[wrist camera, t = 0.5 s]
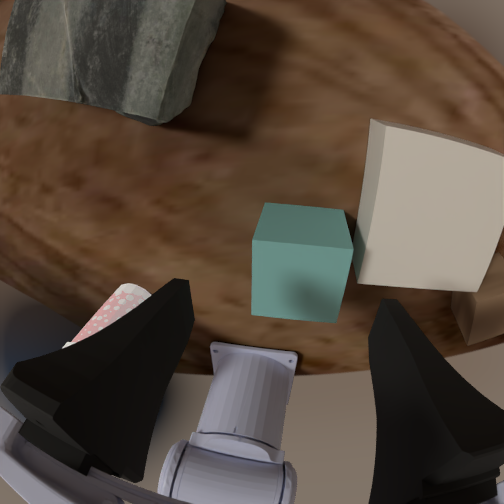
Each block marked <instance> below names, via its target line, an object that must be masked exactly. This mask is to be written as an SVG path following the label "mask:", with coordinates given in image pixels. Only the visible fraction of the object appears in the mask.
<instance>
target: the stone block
mask: <svg viewBox="0 0 504 504" xmlns="http://www.w3.org/2000/svg"><path fill="white" fill-rule="evenodd" d="M226 3H227V2H226V0H15V2H14V5H13V9H12V12H11V16H10V20H9V24H8V28H7V32H6V37H5V43H4V48H3V54H2V62H1V70H0V94H10V95H27V96H35V97H43V98H50V99H57V100H65V101H71V102H76V103H80V104H86V105H91V106H96V107H101V108H106V109H111V110H115V111H116V112H118V113H119V114H121V115H123V116H126V117H128V118H131V119H134V120H137V121H140V122H142V123H144V124H147V125H150V126H157V125H161V124H162V123H163V122H168V121H170V120H171V119H173V117H175V116H177V115H178V114H180V113H181V112H182V111H183V110H184V109H185V108H187V107H189V106H190V104H191V101H192V96H193V92H194V89H195V86H196V80H197V74H198V72H199V67H200V64H201V62H202V60H203V58H204V56H205V55H206V52H207V50H208V48H209V46H210V44H211V43H212V42H213V40H214V39H215V35H216V33H217V30H218V26H219V20H220V19H221V17H222V15H223V13H224V12H225V11H224V7H225V5H226Z"/></svg>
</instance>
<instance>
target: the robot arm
mask: <svg viewBox="0 0 504 504" xmlns="http://www.w3.org/2000/svg"><path fill="white" fill-rule="evenodd" d="M194 321H195V318H194V312H193V305H192V299H191V292H190V285H189V280H184V279H176V278H174V279H172V280H171V281H169V282H168V283H167V284H165V285H164V286H163V287H161V288H160V289H159V290H158V291H156V292H155V293H154V294H152V295H151V296H150V297H148V298H147V299H146V300H144V301H143V302H142V303H140V304H139V305H138V306H137V307H135V308H134V309H132V310H131V311H129V312H128V313H126V314H125V315H124V316H122V317H121V318H119V319H118V320H116V321H115V322H113V323H112V324H110V325H108V326H107V327H105V328H103V329H102V330H100V331H98V332H96V333H95V334H93V335H91V336H89V337H87V338H85V339H83V340H81V341H78V342H76V343H74V344H72V345H70V346H68V347H65V348H63V349H60V350H58V351H55V352H52V353H49V354H46V355H43V356H40V357H36V358H33V359H29V360H25V361H21V362H17V363H16V364H15V366H14V367H13V369H12V370H11V372H10V373H9V374H8V376H7V377H6V379H5V380H4V381H3V383H2V384H1V390H2V392H3V393H4V395H5V396H6V397H7V398H8V400H9V401H10V402H11V403H12V404H13V405H14V406H15V407H16V408H17V409H18V410H19V411H20V412H21V413H22V414H23V415H24V417H25V418H27V419H26V420H25V422H24V424H23V423H22V422H21V421H20V420H19V419H17V418H16V417H15V416H13V415H12V414H11V413H9V412H8V411H7V410H5V409H4V408H3V407H0V476H1V477H2V478H3V479H4V480H5V481H6V482H7V483H8V484H9V485H10V486H11V487H12V488H13V489H14V490H15V491H16V492H17V493H18V494H19V495H20V496H21V497H22V498H23V499H24V500H25V501H27V502H28V503H29V504H124V501H123V500H125V501H128V502H130V503H132V504H294V500H295V496H296V489H297V474H296V471H295V469H294V468H293V467H292V464H291V463H290V462H288V461H284V455H285V451H282V450H280V447H281V440H282V433H283V426H284V418H285V410H286V405H287V404H288V401H289V397H290V392H291V388H292V383H293V378H294V374H295V369H296V364H297V359H298V354H297V353H295V352H291V351H281V350H272V349H264V348H256V347H248V346H241V345H234V344H227V343H221V342H212V343H211V345H210V349H211V356H212V363H213V369H214V378H213V381H212V384H211V387H210V390H209V393H208V396H207V400H206V402H205V406H204V409H203V412H202V415H201V418H200V421H199V425H198V428H197V431H196V432H192V434H191V437H190V440H189V441H187V440H184V439H182V440H180V441H179V442H177V443H175V444H173V446H172V447H171V449H170V450H169V452H168V455H167V457H166V459H165V462H164V465H163V468H162V471H161V475H160V479H159V484H158V493H155V492H152V491H149V490H146V489H144V488H141V487H138V486H136V485H133V484H130V483H128V482H125V481H123V480H120V479H118V478H116V477H119V478H123V479H126V480H128V481H131V482H133V483H137V482H140V481H142V480H143V477H144V470H145V465H146V459H147V454H148V450H149V446H150V441H151V437H152V433H153V429H154V426H155V422H156V419H157V415H158V412H159V409H160V405H161V402H162V399H163V396H164V394H165V391H166V389H167V386H168V384H169V381H170V379H171V377H172V375H173V373H174V371H175V369H176V367H177V365H178V362H179V360H180V358H181V356H182V354H183V352H184V349H185V347H186V345H187V343H188V340H189V337H190V334H191V331H192V327H193V324H194ZM368 344H369V363H370V370H371V376H372V383H373V390H374V398H375V405H376V415H377V438H376V440H377V441H376V457H375V466H374V475H373V482H372V489H371V494H370V499H369V504H504V480H503V481H501V482H499V483H497V484H496V477H498V476H499V475H500V469H499V467H500V466H501V465H503V464H504V410H503V409H501V408H500V407H498V406H497V405H496V404H494V403H493V402H491V401H490V400H489V399H487V398H486V397H484V396H483V395H482V394H481V393H480V392H479V391H477V390H476V389H475V388H474V387H473V386H472V385H471V384H469V383H468V382H467V381H466V380H465V379H464V378H463V377H462V376H461V375H460V374H459V373H458V372H457V371H456V370H455V369H454V368H453V367H452V366H451V365H450V364H449V363H448V362H447V361H446V360H445V359H444V357H443V356H442V355H441V354H440V353H439V352H438V350H437V349H436V348H435V347H434V346H433V345H432V343H431V342H430V341H429V340H428V338H427V337H426V336H425V335H424V333H423V332H422V331H421V330H420V328H419V327H418V326H417V324H416V323H415V322H414V321H413V319H412V318H411V317H410V315H409V314H408V313H407V311H406V310H405V309H404V308H403V306H402V305H401V304H400V303H399V302H398V300H396V299H382V300H381V303H380V306H379V309H378V312H377V315H376V318H375V320H374V323H373V326H372V329H371V331H370V334H369V337H368ZM111 475H114V476H116V477H113V476H111ZM122 499H123V500H122Z"/></svg>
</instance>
